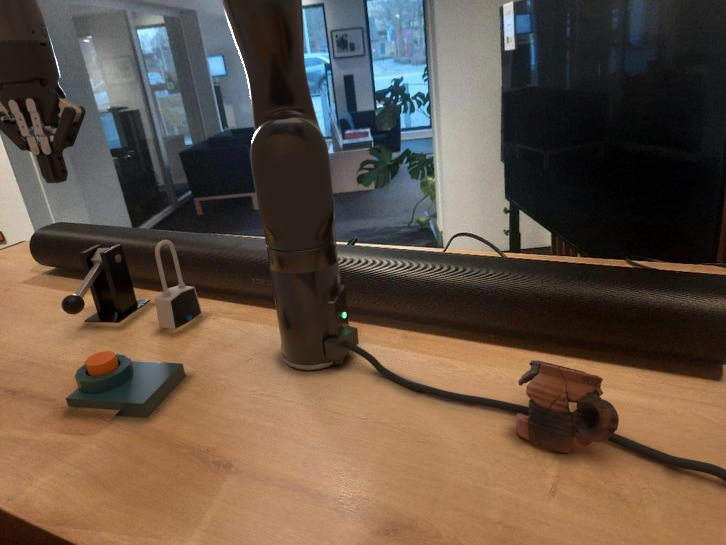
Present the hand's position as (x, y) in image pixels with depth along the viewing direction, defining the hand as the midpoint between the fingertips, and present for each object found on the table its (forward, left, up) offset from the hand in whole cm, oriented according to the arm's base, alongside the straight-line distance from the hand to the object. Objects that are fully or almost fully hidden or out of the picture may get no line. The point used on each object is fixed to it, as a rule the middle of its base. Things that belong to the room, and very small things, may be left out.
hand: (57, 181), depth 66 cm
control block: (-10, +9, -27) cm, 30 cm away
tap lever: (+8, -9, -19) cm, 23 cm away
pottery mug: (-64, +10, -27) cm, 70 cm away
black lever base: (+8, -13, -27) cm, 30 cm away
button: (-7, +9, -23) cm, 26 cm away
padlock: (-7, -10, -27) cm, 29 cm away
